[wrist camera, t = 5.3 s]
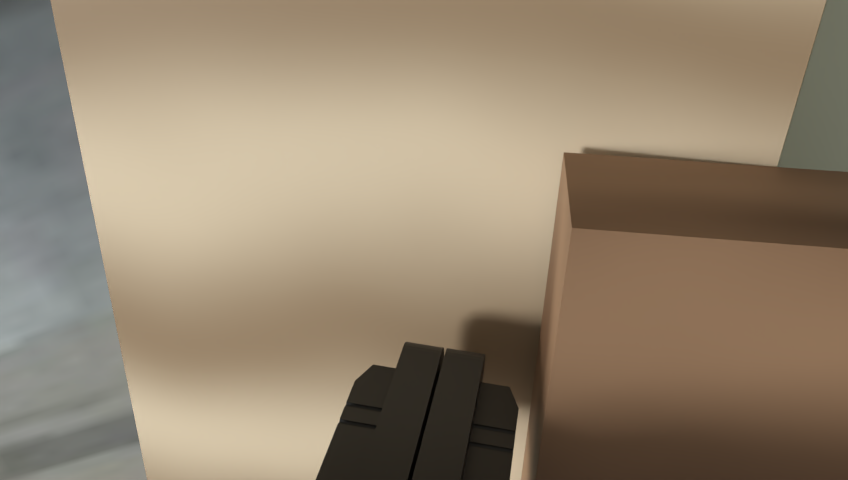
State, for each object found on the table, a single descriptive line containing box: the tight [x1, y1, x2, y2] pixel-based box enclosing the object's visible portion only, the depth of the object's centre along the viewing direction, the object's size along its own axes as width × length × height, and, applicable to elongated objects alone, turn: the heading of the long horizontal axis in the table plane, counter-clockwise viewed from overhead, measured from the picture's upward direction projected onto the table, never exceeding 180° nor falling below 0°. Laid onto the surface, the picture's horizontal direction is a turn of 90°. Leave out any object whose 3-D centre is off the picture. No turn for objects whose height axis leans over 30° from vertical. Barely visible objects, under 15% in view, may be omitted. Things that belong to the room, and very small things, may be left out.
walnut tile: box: [521, 152, 848, 480], centre depth 14 cm, size 9×6×2 cm, turn 178°
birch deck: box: [51, 0, 827, 480], centre depth 17 cm, size 17×12×4 cm
